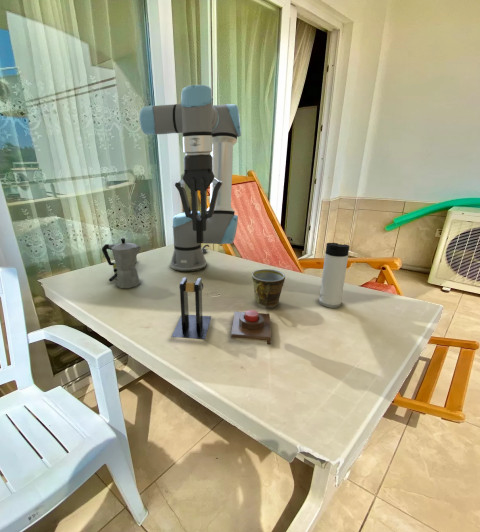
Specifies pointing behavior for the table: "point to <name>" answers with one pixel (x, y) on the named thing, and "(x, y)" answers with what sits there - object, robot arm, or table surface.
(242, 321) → the button block
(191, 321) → the switch bracket
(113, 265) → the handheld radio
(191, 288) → the switch lever
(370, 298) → the table surface
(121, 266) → the coffeepot
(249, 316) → the button
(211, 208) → the robot arm
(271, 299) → the ceramic cup
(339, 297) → the travel mug
